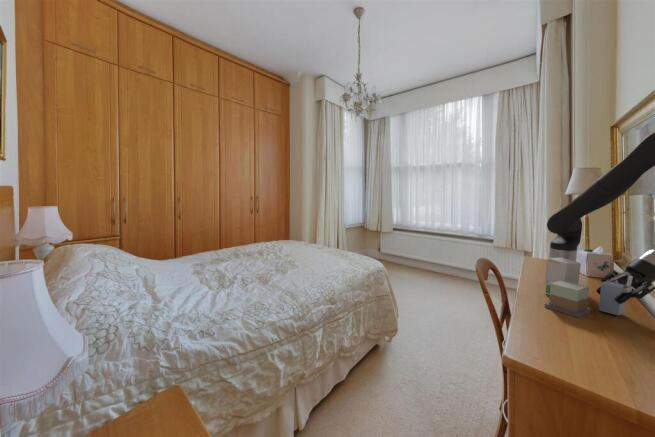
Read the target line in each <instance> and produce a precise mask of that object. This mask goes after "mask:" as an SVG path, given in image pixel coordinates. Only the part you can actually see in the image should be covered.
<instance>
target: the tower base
mask: <svg viewBox="0 0 655 437" xmlns="http://www.w3.org/2000/svg"><path fill="white" fill-rule="evenodd" d="M588 299H589V286H588V285H584V284H580V283H578V284H576V283H572V282H567V281H563V280H560V281H557V282H554V283H551V287H550V295H549V301H548V302H545V303H544V308H547V309H550V310H553V311H556V312H559V313H563V314H565V315H569V316H571V317H572V316H573V317H574V318H579V319H580V318H582V317H583V316H586V315H587V314H589V313H591V312H592V311H593V310H592V309H593V308H592V307H589V306H588Z"/></svg>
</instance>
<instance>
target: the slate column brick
mask: <svg viewBox="0 0 655 437" xmlns="http://www.w3.org/2000/svg"><path fill="white" fill-rule="evenodd" d="M616 282H617V281H616ZM616 282H611V281H609V280H606V281H605V282H602V281H601V283H600V287H601V290H600V294H599V302H598V311H601V312H603V313H608V314H611V315H615V316H620V315H622V314H624V313H625V307H626V306H625V304H626V302H624V303H622V304H619V303H617V302H616V301H615V298H616V297H617V296H619V295H620V294H621V293H623V292H625V291H626V285H624V284H621V283H618V282H617V283H616ZM625 293H626V292H625Z"/></svg>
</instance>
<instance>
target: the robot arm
mask: <svg viewBox="0 0 655 437" xmlns="http://www.w3.org/2000/svg"><path fill="white" fill-rule="evenodd" d="M653 167H655V131H653V132H651V133H650V134H647V136H645V137H644V138H643V139H642V140H641V141H640V142H639V143H638V144H637V145H636V147H635V148H633V150H632V151H630V153H629V154H628V155H626V157H624V159H622V160H621V161H620V162H619V163H617V164H616V165H614V166H613V167H611V168H610V169H608V171H606V172H605V173H603V175H601V176H600V177H598V178H597V179H595V181H593V182H592V184H590V185H588V187H587V188H586V189H585V190H583V191H582V192H580V194H579V195H578V196H577V197H575V198H574V199H573V200H572V201H571V202H569V203H568V204H567V205H565V206H564V207H562V208H561V209H559V210H558V211H557V212H556V213H554V214H552V215H551V216H550V217H549V218H548V220H547V223H546V227H547V230H548V231H549V232H550V233H552V234H556V235H557V236H556V237H555V238H554V239H553V240H552V241H550V245H549V257H548V258H564V259H568V260H572V261H575V262H577V254H578V247H579V246H580V243H581V239H582V232H583V222H582V221H583V220H582V219H581V218H583V217H585V216H586V215H588V214H591V213H592V212H595V211H597V210H600V209H601V208H603V207H606V206H608V205H609V204H611V203H613V202H615V200H617V199H619V197H621V196H622V195H624V194H625V193H626V192H627V191H628V190H630V188H631V187H632V186H633V185H635V184H636V182H638V180H639V179H640V178H642V176H643V175H644V174H645V173H647V172H648V171H650V170H651V169H652V168H653ZM547 267H548V262H547V263H546V270H545V278H546V277H547ZM600 281H601V283H602V282H605V281H611V282H616V283H621V284H624V285H626V291H625V292H626V293H625V292H623V293H621V294H620V295H619V296H617V297H616V298H615V301H616V302H617V303H619V304H622V303H624V302H625V303H626V302H627V301H629V300H630V299H633V298H634V299H635V298H637V299H638V300H641V299H642V298H645V297H646V296H647V295H649V294H650V293H652V292H653V291H655V285H654V284H653V283H654V282H655V246H653V247H652V248H650V249H649V250H648V251H645V252H644V253H642V254H640V255H639V256H638V257H637V258H635V259H634V260H632V262H630V263H628V264H627V265H626V266H625V270H624V271H622V272H619V271H617V270H615V269H614V270H611V271H610V272H608V273H607V274H606V275H605V276H604V277H603V278H601V280H600ZM600 290H601V286H600V287H598V288H597V289H596V290H595V292H596V293H597V294H599V295H600Z"/></svg>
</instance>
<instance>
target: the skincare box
mask: <svg viewBox="0 0 655 437" xmlns="http://www.w3.org/2000/svg"><path fill="white" fill-rule="evenodd" d="M547 263H548V267H547V266H546V268H547V277H546V276H545V286H544V287H545V288H544V294H545V295H548V296H550V287H551V283H554V282H557V281H560V280H563V281H567V282H572V283H576V284H579V281H580V273H581V272H580V271H581V265H582V263H581V262H577V261H576V262H575V261H572V260H568V259H564V258H549V257H548V258H547Z"/></svg>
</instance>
